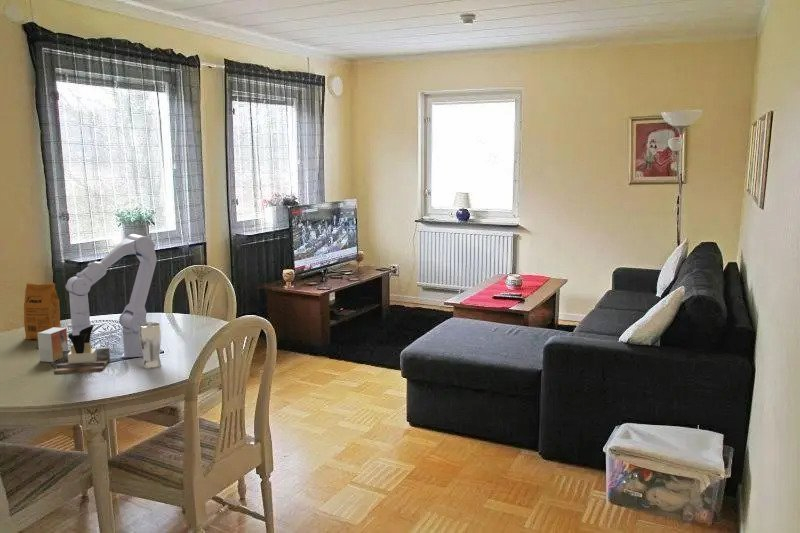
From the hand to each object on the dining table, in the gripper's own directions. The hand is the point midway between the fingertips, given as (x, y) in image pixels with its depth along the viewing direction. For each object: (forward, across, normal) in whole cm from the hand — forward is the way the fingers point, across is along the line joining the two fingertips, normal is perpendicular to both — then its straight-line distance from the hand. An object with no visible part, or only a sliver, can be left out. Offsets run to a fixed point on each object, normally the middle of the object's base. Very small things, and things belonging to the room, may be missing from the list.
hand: (82, 349), depth 220 cm
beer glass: (+6, +5, +23) cm, 24 cm away
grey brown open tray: (+6, +1, 0) cm, 6 cm away
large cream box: (+5, 0, 0) cm, 5 cm away
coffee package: (+6, -40, -24) cm, 47 cm away
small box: (+6, -10, -12) cm, 17 cm away
